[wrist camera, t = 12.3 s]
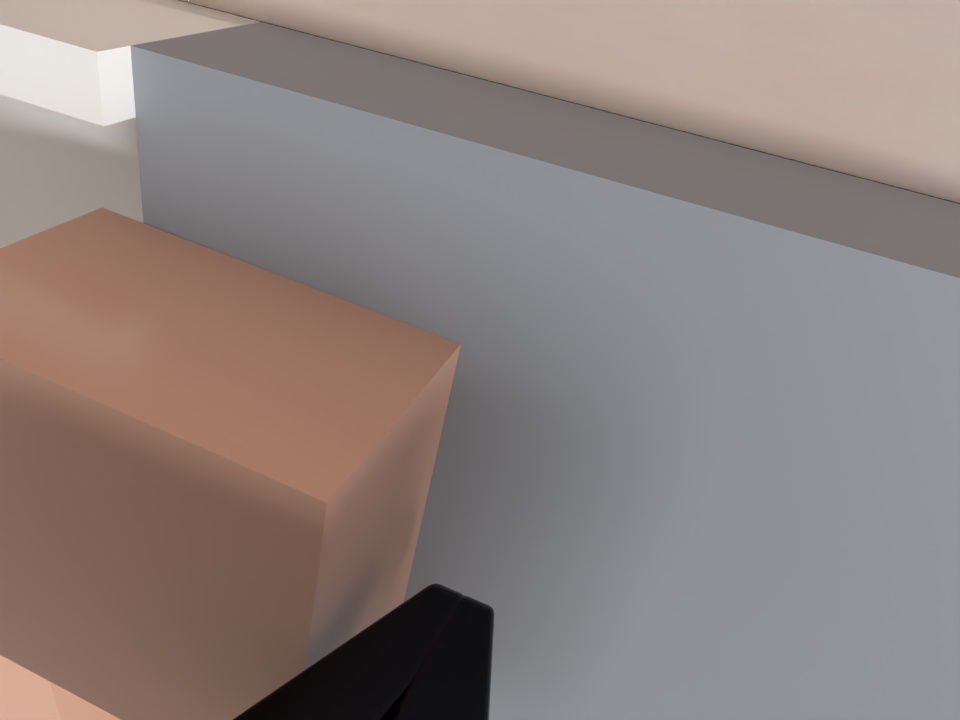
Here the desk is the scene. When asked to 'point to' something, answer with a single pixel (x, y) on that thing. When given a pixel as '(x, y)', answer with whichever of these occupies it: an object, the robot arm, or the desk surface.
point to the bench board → (616, 371)
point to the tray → (77, 104)
